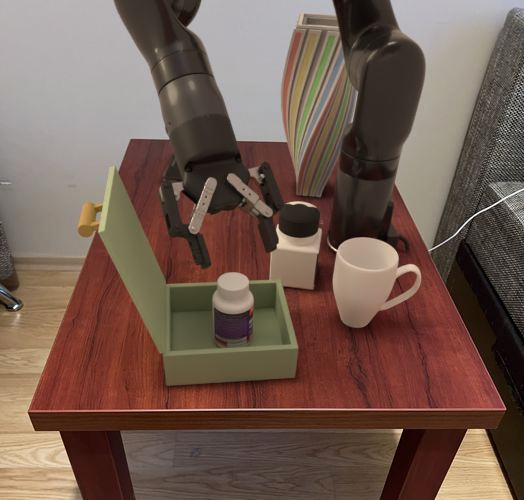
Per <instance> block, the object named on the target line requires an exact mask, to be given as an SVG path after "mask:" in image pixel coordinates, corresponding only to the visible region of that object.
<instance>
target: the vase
mask: <svg viewBox="0 0 524 500" xmlns="http://www.w3.org/2000/svg"><path fill="white" fill-rule="evenodd" d="M289 42H290V43H289V46H288V50H287V54H286V58H285V63H284V68H283V71H282V72H283V73H282V78H281V84H280V86H281V87H280V110H281V119H282V124H283V130H284V131H283V132H284V136H285V140H286V144H287V147H288V151H289V154H290V158H291V161H292V162H291V163H292V166H293V170H294V173H295V181H296V190H295V191H296V192H295V196H304V197H317V198H322V194H323V191H324V189H325V187H326V186H327V183H328V181H329V179H330V177H331V175H332V173H333V171H334V169H335V166H336V165H337V163H338V161H339V157H340V150H341V143H342V136H343V131H344V129H345V127H346V126H347V125H348V124H350V123H352V122H353V117H354V112H355V106H356V101H357V95H358V91H357V90H356V89H355V88H354V87H353V85H352V84H351V82H350V80H349V77H348V74H347V71H346V66H345V61H344V55H343V49H342V43H341V38H340V33H339V28H338V23H337V18H336V14H324V13H311V12H301V13H300V14H299V15H298V17H297V19H296V22H295V25H294V27H293V31H292V34H291V38H290V41H289Z"/></svg>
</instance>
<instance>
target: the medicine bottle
mask: <svg viewBox="0 0 524 500" xmlns="http://www.w3.org/2000/svg"><path fill="white" fill-rule="evenodd" d="M278 213H279V214H278V224H277V225H276V227H275V228H276V232H277V235H278V238H279V243H278V244H277V249H276V250H274V251H273V252H270V261H269V262H270V263H269V279H268V280H277V279H281V282H282V286H283V287H286V288H287V287H288V288H294V289H303V290H310V291H312V290H314V289H315V285H316V278H317V274H318V273H317V272H318V265H319V257H320V250H321V242H322V236H323V235H322V234H323V229H322V228H321V227H319V226H320V218H321V212H320V209H319V208H318V207H317V206H316V205H314V204H312V203H309V202H306V201H290V202H287V203H284V207H283V208H282V209H281V210H280V211H279V212H278Z"/></svg>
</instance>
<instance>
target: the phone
mask: <svg viewBox="0 0 524 500" xmlns="http://www.w3.org/2000/svg"><path fill="white" fill-rule="evenodd" d="M165 180H168V181H170V182H171V183H177V182H182V177H181V174H180V171H179V168H178V165H177V162H176V158H175V155H174V152H173V153H172V155H171V158H170V160H169V161H168V164H167V165H166V167H165V169H164V172H163V173H162V182H163V181H165Z"/></svg>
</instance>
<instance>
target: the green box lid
mask: <svg viewBox="0 0 524 500" xmlns="http://www.w3.org/2000/svg"><path fill="white" fill-rule="evenodd" d="M98 213H100V219H99V220H97V221H96V218H97V215H98ZM76 230H77V233H78V235H79V236H80V237H82V238H90V237H92V236H93V233H94V232H96V231H97V233H98V236H99V237H100V239H101V241H102V243H103V245H104V247H105V249H106V251H107V253H108V255H109V257H110V259H111V261H112V263H113V265H114V267H115V269H116V270H117V271H116V272H118V275H119V276H120V279H121V280H122V283H123V284H124V287H125V288H126V290H127V292H128V294H129V296H130V298H131V300H132V302H133V304H134V306H135V308H136V310H137V313H138V314H139V316H140V317H141V320H142V322H143V324H144V326H145V328H146V330H147V331H148V334H149V335H150V337H151V340H152V342H153V343H154V345H155V347H156V349H157V351H158V353H159V354H160V355H163V353H165V324H166V284H167V280H166V278H165V275H164V273H163V271H162V269H161V267H160V265H159V262H158V259H157V258H156V255H155V253H154V251H153V248H152V246H151V244H150V241H149V240H148V237H147V235H146V232H145V231H144V228H143V226H142V223H141V221H140V219H139V217H138V214H137V212H136V210H135V207H134V206H133V203H132V201H131V198H130V196H129V194H128V191H127V190H126V187H125V185H124V182H123V181H122V177H121V175H120V174H119V170H118V169H117V167H116V165H113V166H109V168H108V175H107V180H106V186H105V191H104V197H103V202H100V203H96V204H95V203H94V202H91V201H89V202H85V203H83V205H82V208H81V213H80V216H79V221H78V225H77V229H76Z"/></svg>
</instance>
